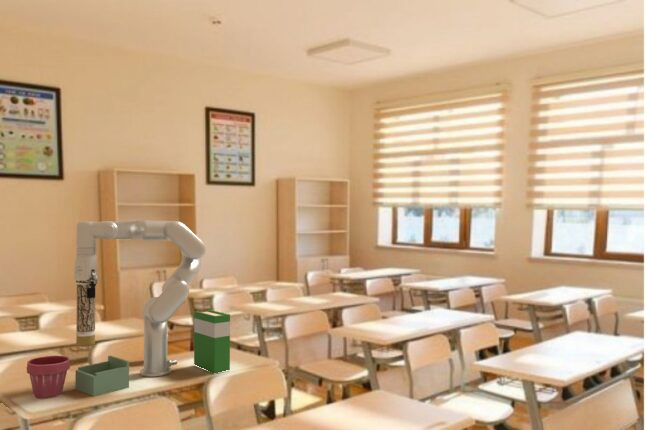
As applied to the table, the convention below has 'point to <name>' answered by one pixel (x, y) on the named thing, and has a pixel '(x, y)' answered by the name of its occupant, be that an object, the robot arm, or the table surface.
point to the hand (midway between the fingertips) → (86, 296)
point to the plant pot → (48, 375)
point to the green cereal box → (212, 340)
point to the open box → (103, 376)
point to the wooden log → (85, 317)
